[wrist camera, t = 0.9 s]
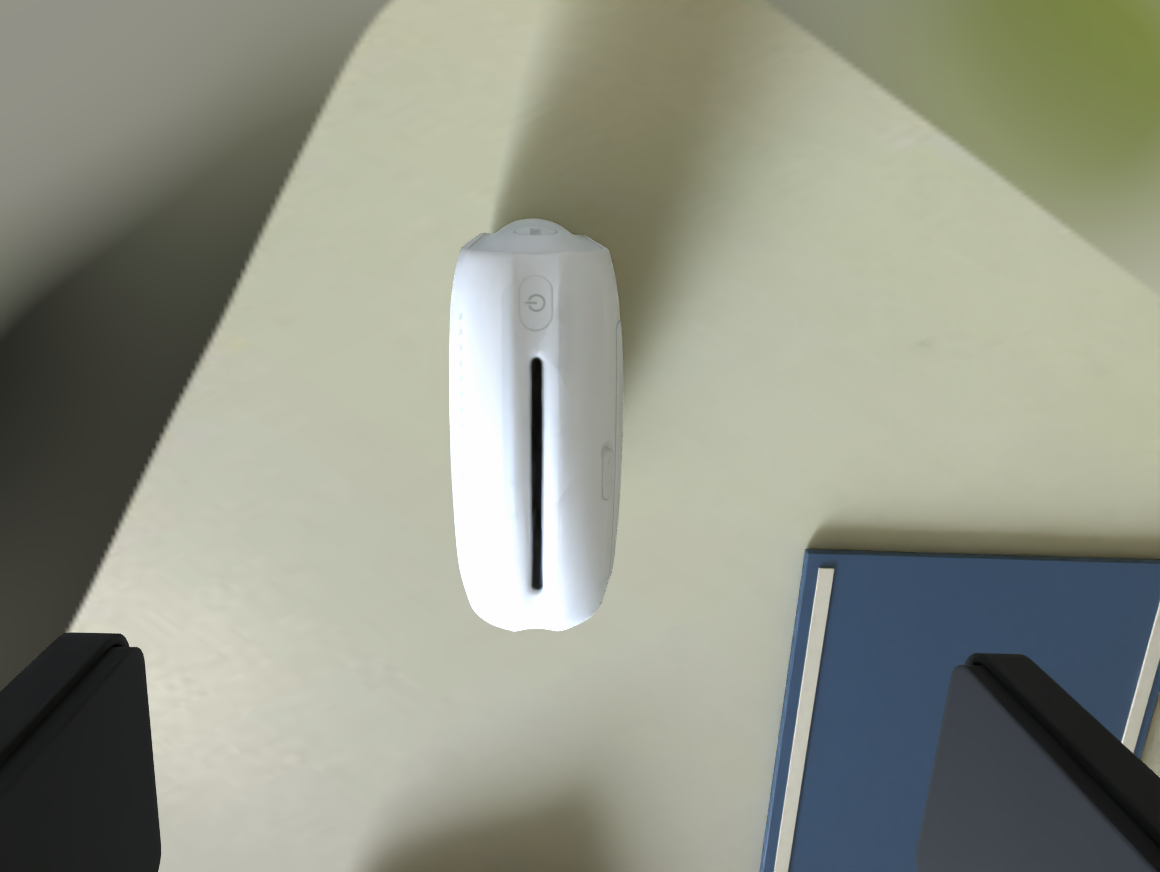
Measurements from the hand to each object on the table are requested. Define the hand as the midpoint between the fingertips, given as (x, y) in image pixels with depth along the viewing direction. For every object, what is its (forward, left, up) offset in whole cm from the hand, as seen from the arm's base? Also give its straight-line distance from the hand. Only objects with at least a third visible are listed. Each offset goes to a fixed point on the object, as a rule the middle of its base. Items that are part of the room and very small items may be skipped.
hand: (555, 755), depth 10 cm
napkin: (+16, +19, -22) cm, 33 cm away
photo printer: (0, 0, -22) cm, 22 cm away
